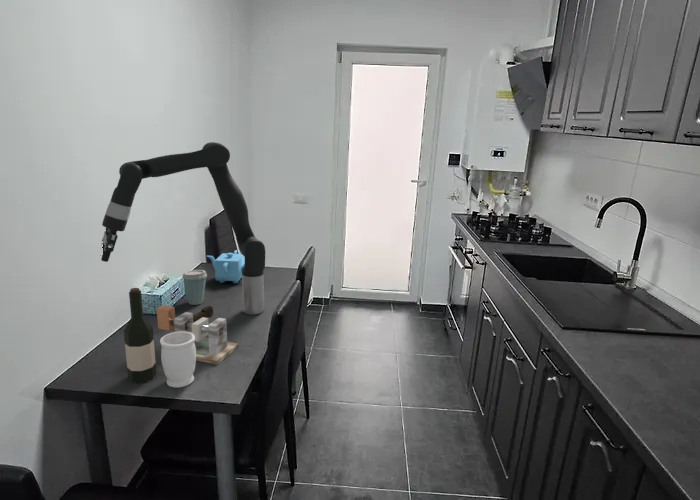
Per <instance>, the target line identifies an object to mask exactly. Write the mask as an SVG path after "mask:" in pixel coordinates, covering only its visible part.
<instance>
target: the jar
mask: <svg viewBox="0 0 700 500" xmlns="http://www.w3.org/2000/svg"><path fill="white" fill-rule="evenodd" d="M194 341H195V335H194V334H193V333H191V332H186V331H179V332H175V331H173V332H170V333H169V332H168V333H167V334H165V335H163V336H162V337H160V340H159V343H160V346H161V351H160V358H161V365H162V369H163V372H164V374H165V378H166V384H167V386H169V387H171V388H184V387H187V386H188V385H190V384H191V383H193V382H194V380H195V376H194V372H195V371H196V370H195V369H196V363H197V361H196V348H195V344H194Z"/></svg>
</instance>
